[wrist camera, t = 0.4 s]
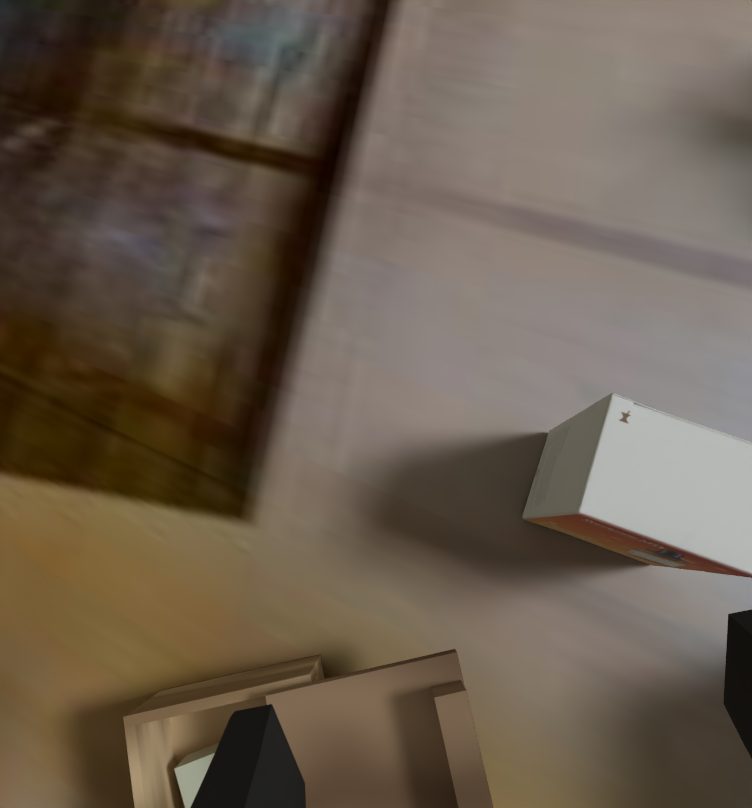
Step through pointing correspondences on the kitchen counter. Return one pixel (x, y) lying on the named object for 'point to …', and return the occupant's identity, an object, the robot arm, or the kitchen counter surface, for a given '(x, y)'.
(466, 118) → the kitchen counter surface
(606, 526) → the small box
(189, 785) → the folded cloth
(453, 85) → the kitchen counter surface
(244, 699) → the carton
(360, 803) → the lid
